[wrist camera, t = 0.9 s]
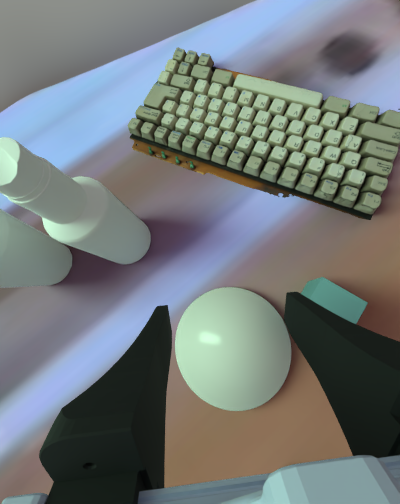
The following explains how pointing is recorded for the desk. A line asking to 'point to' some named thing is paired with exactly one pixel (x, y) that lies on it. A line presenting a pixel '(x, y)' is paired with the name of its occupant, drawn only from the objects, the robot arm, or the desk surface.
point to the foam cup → (30, 255)
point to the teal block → (335, 299)
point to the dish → (233, 349)
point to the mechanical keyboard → (268, 135)
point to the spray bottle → (72, 206)
